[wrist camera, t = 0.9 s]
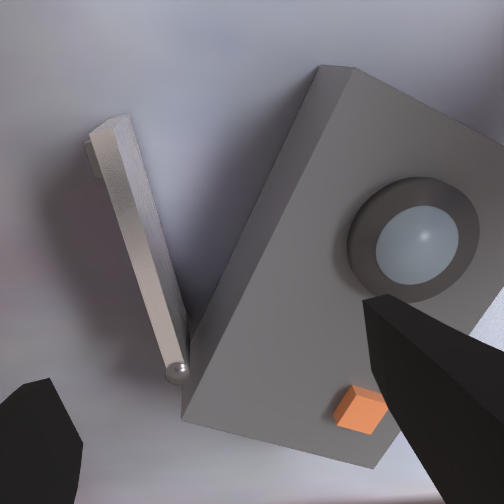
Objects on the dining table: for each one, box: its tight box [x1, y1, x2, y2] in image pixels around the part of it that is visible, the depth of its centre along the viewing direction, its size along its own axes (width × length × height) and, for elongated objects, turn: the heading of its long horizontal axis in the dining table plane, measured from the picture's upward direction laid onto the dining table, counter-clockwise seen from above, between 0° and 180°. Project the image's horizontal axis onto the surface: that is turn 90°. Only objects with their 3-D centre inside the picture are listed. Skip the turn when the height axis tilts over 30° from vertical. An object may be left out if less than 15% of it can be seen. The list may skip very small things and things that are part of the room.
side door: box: [83, 114, 191, 385], centre depth 17 cm, size 10×1×4 cm, turn 11°
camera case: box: [181, 65, 504, 469], centre depth 18 cm, size 14×9×5 cm, turn 156°
